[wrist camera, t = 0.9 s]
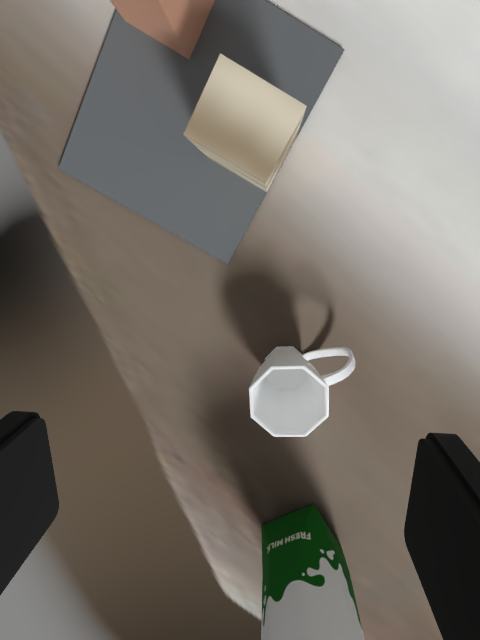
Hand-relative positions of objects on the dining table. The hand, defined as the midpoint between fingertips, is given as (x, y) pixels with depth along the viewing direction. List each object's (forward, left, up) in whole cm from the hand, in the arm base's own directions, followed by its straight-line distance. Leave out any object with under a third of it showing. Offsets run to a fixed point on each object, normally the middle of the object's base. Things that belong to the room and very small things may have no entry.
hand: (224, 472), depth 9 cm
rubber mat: (-10, -12, -28) cm, 32 cm away
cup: (+5, +8, -28) cm, 30 cm away
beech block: (-10, -6, -28) cm, 30 cm away
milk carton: (+24, +20, -28) cm, 42 cm away
